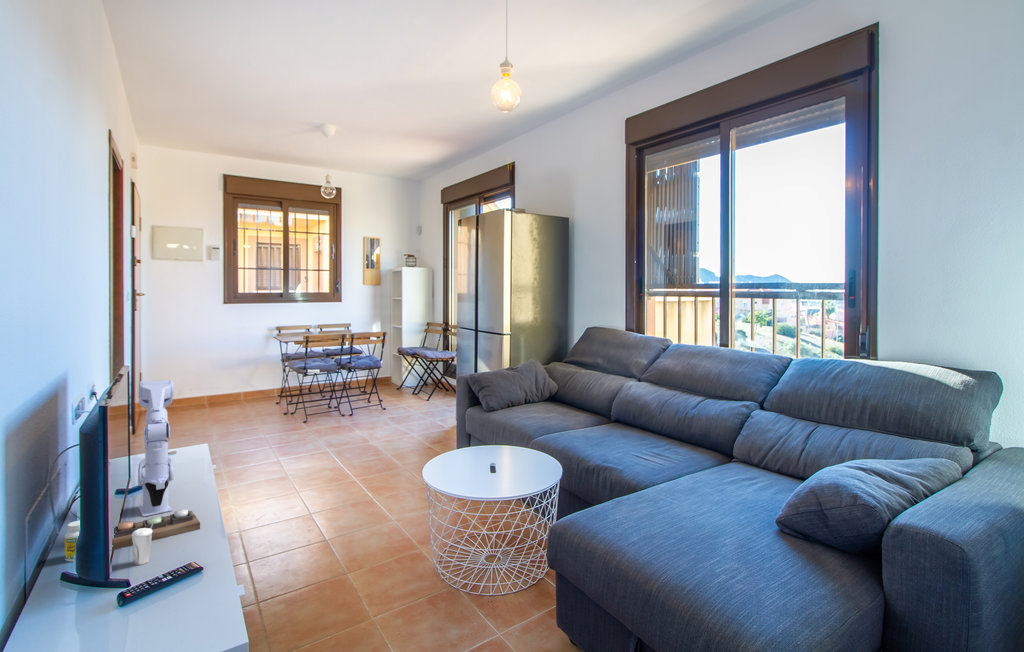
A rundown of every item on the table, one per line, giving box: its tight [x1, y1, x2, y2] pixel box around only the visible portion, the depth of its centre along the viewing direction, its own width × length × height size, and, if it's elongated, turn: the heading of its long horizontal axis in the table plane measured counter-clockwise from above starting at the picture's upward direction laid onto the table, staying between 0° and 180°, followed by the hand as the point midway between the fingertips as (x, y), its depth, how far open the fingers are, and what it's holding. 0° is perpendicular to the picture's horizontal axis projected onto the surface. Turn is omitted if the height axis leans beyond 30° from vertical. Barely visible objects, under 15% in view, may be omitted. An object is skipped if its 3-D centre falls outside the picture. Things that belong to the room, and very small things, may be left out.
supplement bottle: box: [64, 520, 80, 562], centre depth 138 cm, size 5×5×10 cm
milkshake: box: [132, 522, 154, 566], centre depth 136 cm, size 4×5×10 cm
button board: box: [111, 510, 201, 551], centre depth 154 cm, size 12×22×4 cm, turn 133°
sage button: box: [146, 516, 162, 525], centre depth 154 cm, size 4×4×2 cm
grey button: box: [173, 508, 189, 519], centre depth 159 cm, size 4×4×2 cm
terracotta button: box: [117, 520, 134, 531], centre depth 149 cm, size 4×4×2 cm
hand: (156, 505), depth 155 cm, fingers closed
